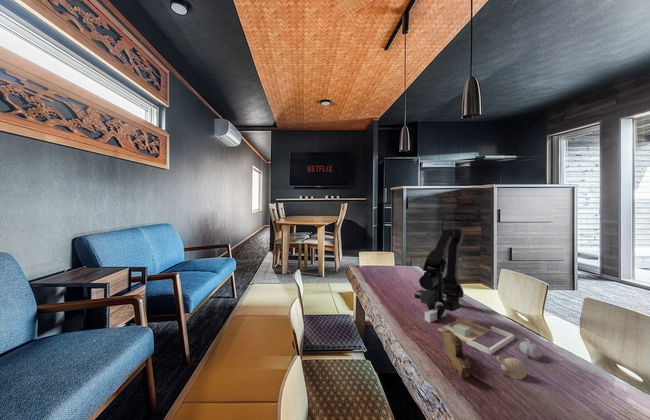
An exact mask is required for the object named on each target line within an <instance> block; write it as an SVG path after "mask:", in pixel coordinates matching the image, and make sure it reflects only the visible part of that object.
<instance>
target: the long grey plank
mask: <svg viewBox="0 0 650 420" xmlns="http://www.w3.org/2000/svg"><path fill="white" fill-rule="evenodd" d="M447 311H448V310H446V309H445V311H444V313H443V315H442V317H441V318H444V317H446V316H447ZM424 321H426V322H428V323H432V322H435V321H438V319H437V308H436V307H435V309H432V310H429V309H428V311H424Z"/></svg>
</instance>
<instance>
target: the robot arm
mask: <svg viewBox="0 0 650 420" xmlns="http://www.w3.org/2000/svg"><path fill="white" fill-rule="evenodd" d="M465 233H466V232H465V230H463V228H460V227H447V228H443V229H442V230H441V235H440V237H439V240H438V241H437V243H436V247H435V248H434V249H433V250H431V251H430V252H429V254H428V255H427V256H426V258H425V260H424V261H425V262H424V265H423V266H422V267H423V268H422V271H423V275H421V276H420V278H419V280H418V284H419V285H420V287H421V288H422V289H419V290H416V291H415V292H414V295H413V296H414V298H415V299H418V300H420V302H421V303H422V304H425V305H426V306H427V308H428V311H429V310H432V309H435V308H437V321H438V320H441V317H442V315H443V313H444V311H445V309H446V310H447V311H450V312H455V311H457V310H459V309H461V305H460V299H461V298H464V294H465V293H464V289H463V287H462V285H461V279H460V278H459V276H458V270H459V269H458V268H459V267H458V265H459V253H460V251H459V250H460V245H462V244H463V242H464V238H465V235H466V234H465ZM446 255H447V258H446ZM445 270H446V274H445V276H444V272H445ZM437 303H438V305H436V304H437ZM442 318H443V317H442Z"/></svg>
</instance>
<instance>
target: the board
mask: <svg viewBox="0 0 650 420" xmlns="http://www.w3.org/2000/svg"><path fill="white" fill-rule="evenodd" d="M454 325H456V320H455V321H452V322H449V323H448V324H446V325H444V326H441V327H439V328H437V331H441V332H442V333H443V331H444V330H445V331H449V330H450V332H453V326H454ZM490 331H491V329H489V328H487V327H485V326H481V325H479V324H478V323H477V324H476V323H474V322H473V327H472V328H471V334H470V335H468V336H466V337H463V336H461V335H459V334H457V333H455V332H453V334H454V335H455V336H458V338H459V339H461V341H462V342H464V343H466V344H467V339H469V340H472V341H473V340H475V339H477V338H479V337H481V336H483V335H485V334H486V333H488V332H490Z"/></svg>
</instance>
